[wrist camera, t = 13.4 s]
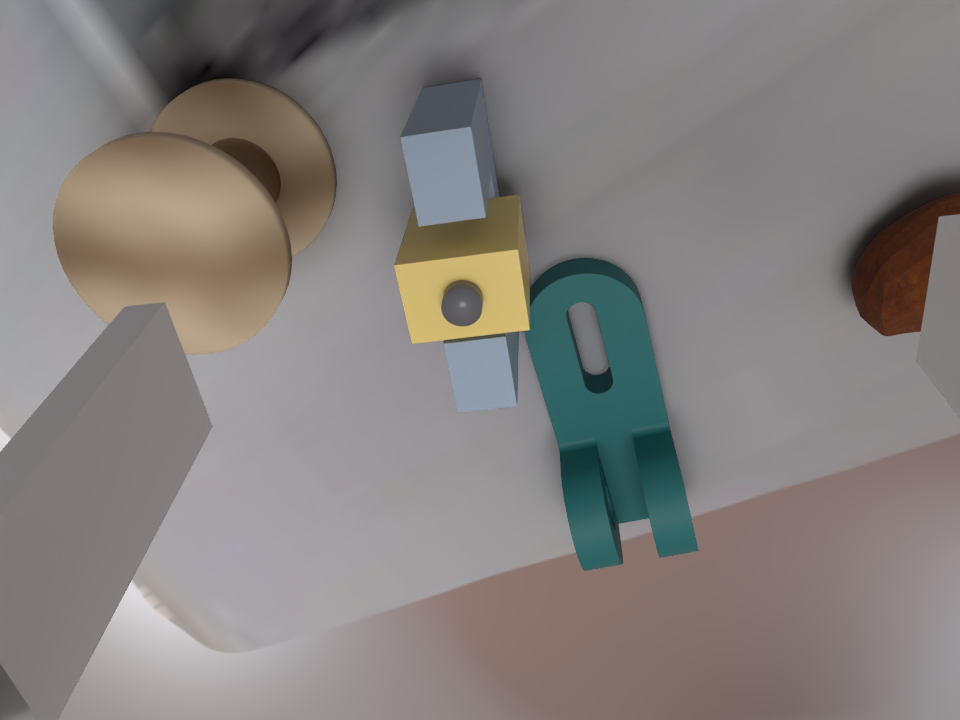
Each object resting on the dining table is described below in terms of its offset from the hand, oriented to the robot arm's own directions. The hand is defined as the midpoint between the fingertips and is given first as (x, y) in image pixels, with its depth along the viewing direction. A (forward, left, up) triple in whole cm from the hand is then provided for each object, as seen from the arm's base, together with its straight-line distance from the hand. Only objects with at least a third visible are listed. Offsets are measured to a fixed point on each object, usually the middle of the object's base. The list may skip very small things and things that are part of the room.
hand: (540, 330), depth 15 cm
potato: (+14, +20, -31) cm, 39 cm away
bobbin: (+5, -16, -31) cm, 35 cm away
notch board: (+9, -4, -31) cm, 32 cm away
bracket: (+21, +2, -31) cm, 38 cm away
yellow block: (+9, -4, -28) cm, 29 cm away
